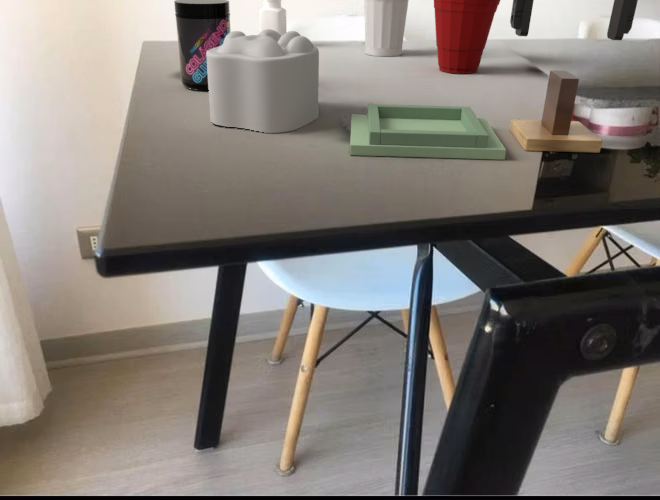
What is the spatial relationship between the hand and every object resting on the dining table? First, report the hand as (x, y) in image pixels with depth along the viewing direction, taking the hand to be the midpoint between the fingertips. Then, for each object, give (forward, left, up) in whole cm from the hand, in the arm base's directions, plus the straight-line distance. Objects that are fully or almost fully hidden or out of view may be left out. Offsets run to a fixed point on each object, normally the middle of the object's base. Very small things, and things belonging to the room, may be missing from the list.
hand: (567, 37), depth 58 cm
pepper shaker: (+34, -57, -10) cm, 67 cm away
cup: (+15, -51, -10) cm, 54 cm away
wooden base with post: (0, 0, -10) cm, 10 cm away
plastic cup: (+4, -37, -10) cm, 39 cm away
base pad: (+13, +1, -10) cm, 16 cm away
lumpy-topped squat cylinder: (+29, -7, -10) cm, 31 cm away
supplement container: (+39, -21, -10) cm, 45 cm away
